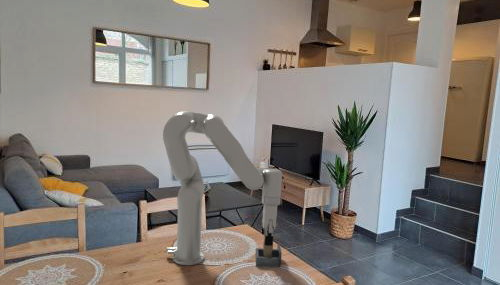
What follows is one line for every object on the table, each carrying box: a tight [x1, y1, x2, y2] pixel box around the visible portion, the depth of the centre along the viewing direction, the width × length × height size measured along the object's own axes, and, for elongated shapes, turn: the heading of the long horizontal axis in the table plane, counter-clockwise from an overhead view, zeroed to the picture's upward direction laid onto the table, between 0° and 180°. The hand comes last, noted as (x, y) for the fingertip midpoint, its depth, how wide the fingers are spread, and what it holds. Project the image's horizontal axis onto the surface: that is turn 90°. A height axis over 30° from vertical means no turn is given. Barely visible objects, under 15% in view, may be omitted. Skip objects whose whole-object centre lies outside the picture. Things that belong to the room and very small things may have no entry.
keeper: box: [254, 243, 282, 268], centre depth 146 cm, size 10×9×6 cm
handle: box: [261, 220, 279, 257], centre depth 145 cm, size 5×6×15 cm
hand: (268, 242), depth 145 cm, fingers closed on handle, 3 cm apart
